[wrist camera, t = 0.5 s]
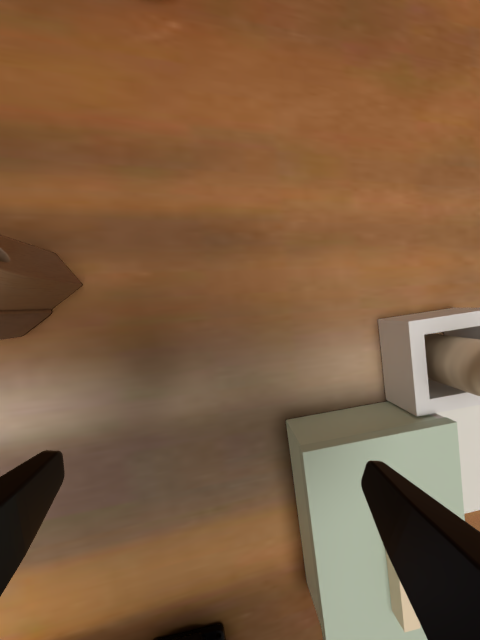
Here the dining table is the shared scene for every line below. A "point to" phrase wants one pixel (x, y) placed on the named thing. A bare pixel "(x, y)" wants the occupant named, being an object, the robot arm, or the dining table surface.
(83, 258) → the dining table surface
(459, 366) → the beige cylinder
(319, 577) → the pale green box
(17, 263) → the wooden toy
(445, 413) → the mat
